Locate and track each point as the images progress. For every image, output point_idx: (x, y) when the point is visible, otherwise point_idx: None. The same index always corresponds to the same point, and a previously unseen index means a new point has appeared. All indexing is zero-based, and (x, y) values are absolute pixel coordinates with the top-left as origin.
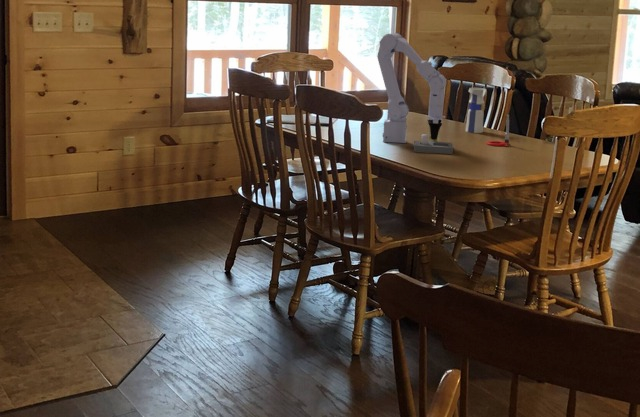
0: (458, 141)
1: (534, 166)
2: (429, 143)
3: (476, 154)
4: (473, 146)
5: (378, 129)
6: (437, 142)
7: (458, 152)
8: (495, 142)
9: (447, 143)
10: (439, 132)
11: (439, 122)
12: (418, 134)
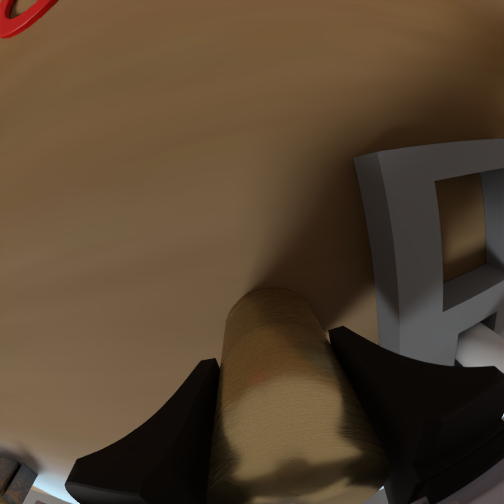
0: (7, 192)
1: None
2: (469, 322)
3: (427, 5)
4: (134, 29)
5: (69, 499)
6: (422, 285)
7: (445, 99)
8: (8, 11)
9: (434, 187)
10: (289, 356)
11: (168, 481)
12: (17, 415)
